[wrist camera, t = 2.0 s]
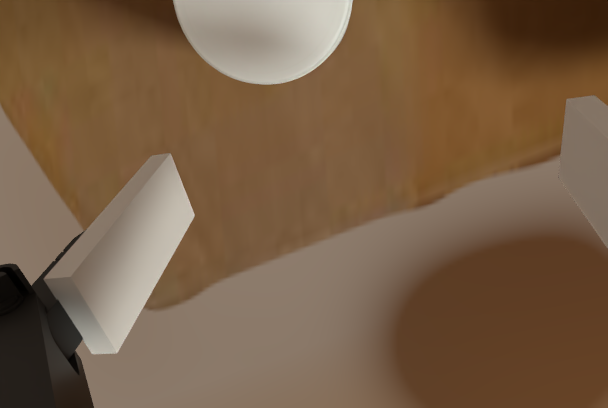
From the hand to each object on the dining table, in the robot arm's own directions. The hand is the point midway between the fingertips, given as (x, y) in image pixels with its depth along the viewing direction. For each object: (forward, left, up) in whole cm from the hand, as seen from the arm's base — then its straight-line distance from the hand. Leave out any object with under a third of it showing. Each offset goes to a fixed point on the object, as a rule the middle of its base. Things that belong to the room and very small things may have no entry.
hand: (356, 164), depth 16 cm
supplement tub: (+3, -7, -24) cm, 26 cm away
